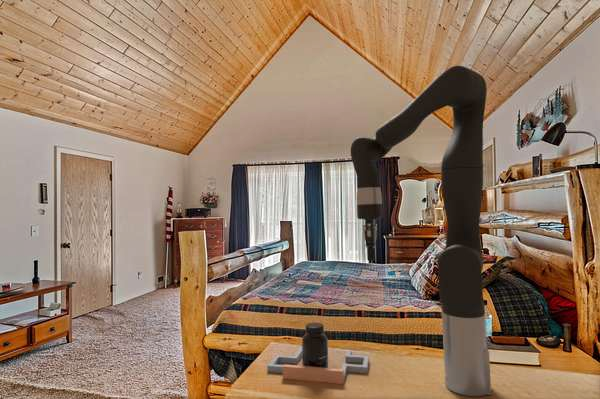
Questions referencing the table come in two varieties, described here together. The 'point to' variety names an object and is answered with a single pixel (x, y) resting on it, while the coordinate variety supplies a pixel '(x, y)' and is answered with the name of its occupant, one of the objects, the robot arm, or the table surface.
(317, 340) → the supplement bottle
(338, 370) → the grey zigzag frame
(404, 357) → the table surface
